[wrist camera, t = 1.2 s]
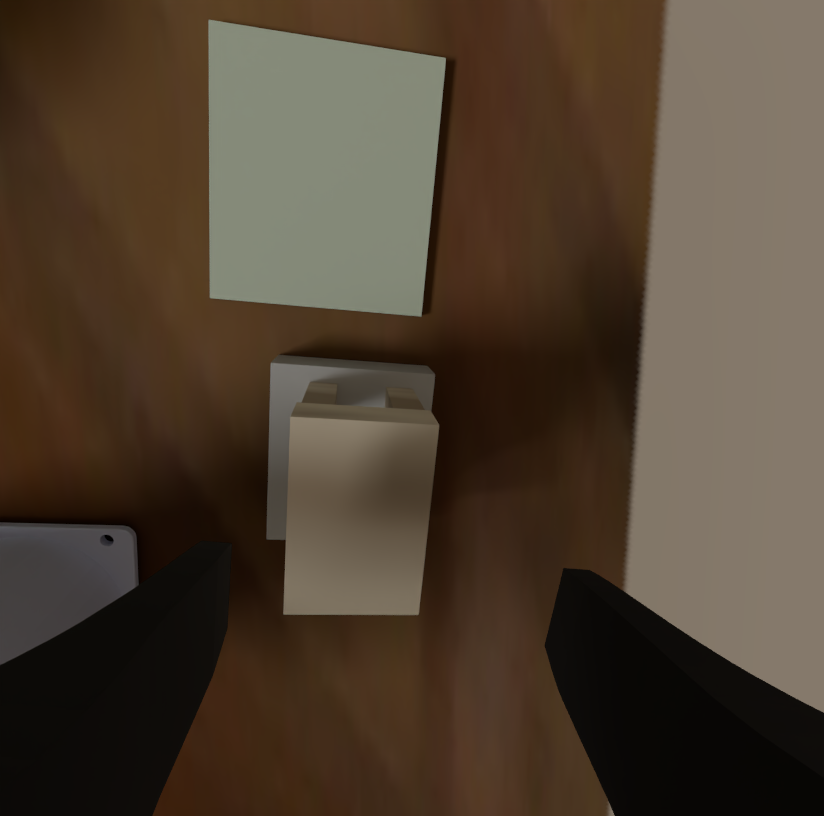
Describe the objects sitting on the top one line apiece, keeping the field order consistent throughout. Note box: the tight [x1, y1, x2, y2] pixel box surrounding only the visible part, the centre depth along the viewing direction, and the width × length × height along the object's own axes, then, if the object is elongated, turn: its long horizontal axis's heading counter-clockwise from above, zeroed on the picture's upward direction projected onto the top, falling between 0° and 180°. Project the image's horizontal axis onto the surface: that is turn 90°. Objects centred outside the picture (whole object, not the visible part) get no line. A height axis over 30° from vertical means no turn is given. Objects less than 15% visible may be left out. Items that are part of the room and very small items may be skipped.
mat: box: [209, 20, 446, 316], centre depth 18 cm, size 8×9×1 cm
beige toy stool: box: [283, 382, 439, 615], centre depth 16 cm, size 6×4×5 cm, turn 175°
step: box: [266, 355, 435, 540], centre depth 20 cm, size 6×7×2 cm
